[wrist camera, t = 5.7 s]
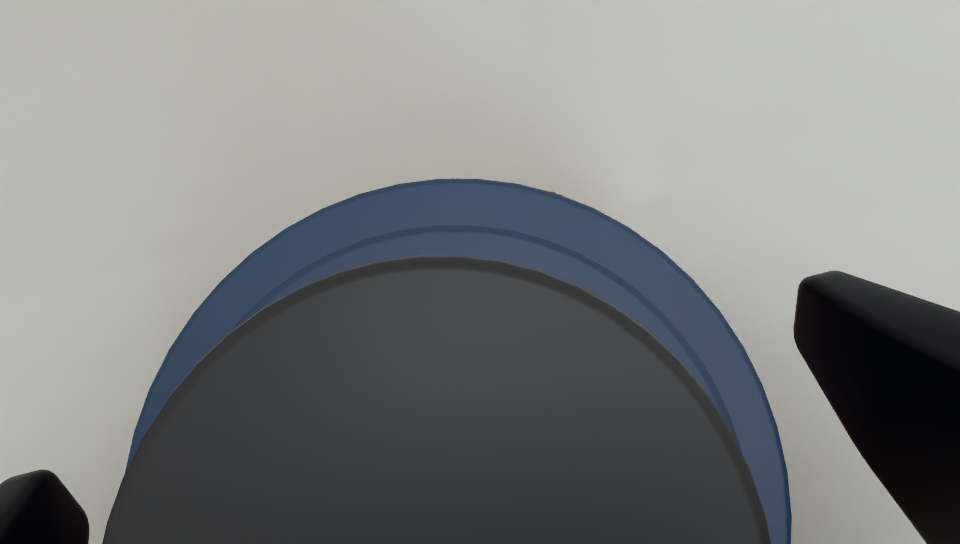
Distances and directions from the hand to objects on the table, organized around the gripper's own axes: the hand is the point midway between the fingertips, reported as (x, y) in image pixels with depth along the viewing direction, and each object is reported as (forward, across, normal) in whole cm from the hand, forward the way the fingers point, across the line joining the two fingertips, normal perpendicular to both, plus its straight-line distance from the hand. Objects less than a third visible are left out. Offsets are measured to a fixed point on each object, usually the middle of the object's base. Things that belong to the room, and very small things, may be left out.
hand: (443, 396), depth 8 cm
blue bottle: (+5, 0, +6) cm, 7 cm away
